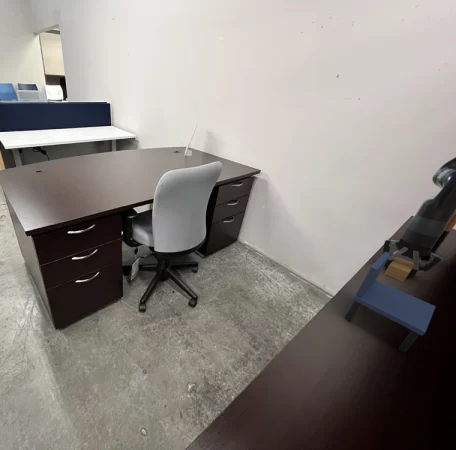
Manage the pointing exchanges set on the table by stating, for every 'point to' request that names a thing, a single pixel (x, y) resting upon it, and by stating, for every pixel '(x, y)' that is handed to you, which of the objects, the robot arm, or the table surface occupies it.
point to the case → (399, 269)
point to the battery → (443, 235)
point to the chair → (392, 304)
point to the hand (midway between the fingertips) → (397, 272)
